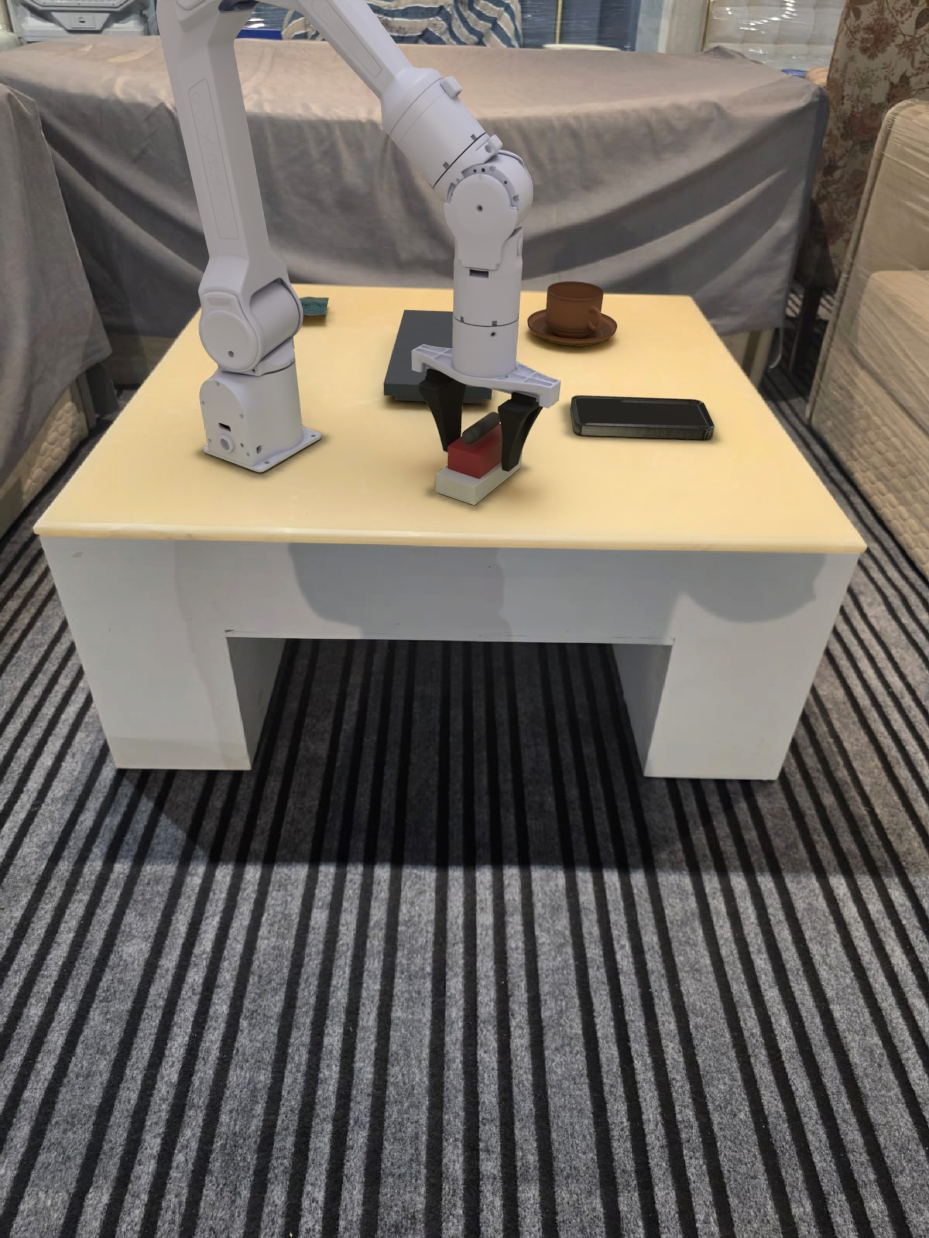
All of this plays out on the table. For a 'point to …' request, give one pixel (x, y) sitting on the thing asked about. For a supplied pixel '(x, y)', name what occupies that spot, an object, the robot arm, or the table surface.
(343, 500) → the table surface
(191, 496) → the table surface
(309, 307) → the terrain model
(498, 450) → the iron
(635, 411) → the phone
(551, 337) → the cup and saucer
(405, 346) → the grey base platform
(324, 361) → the table surface
